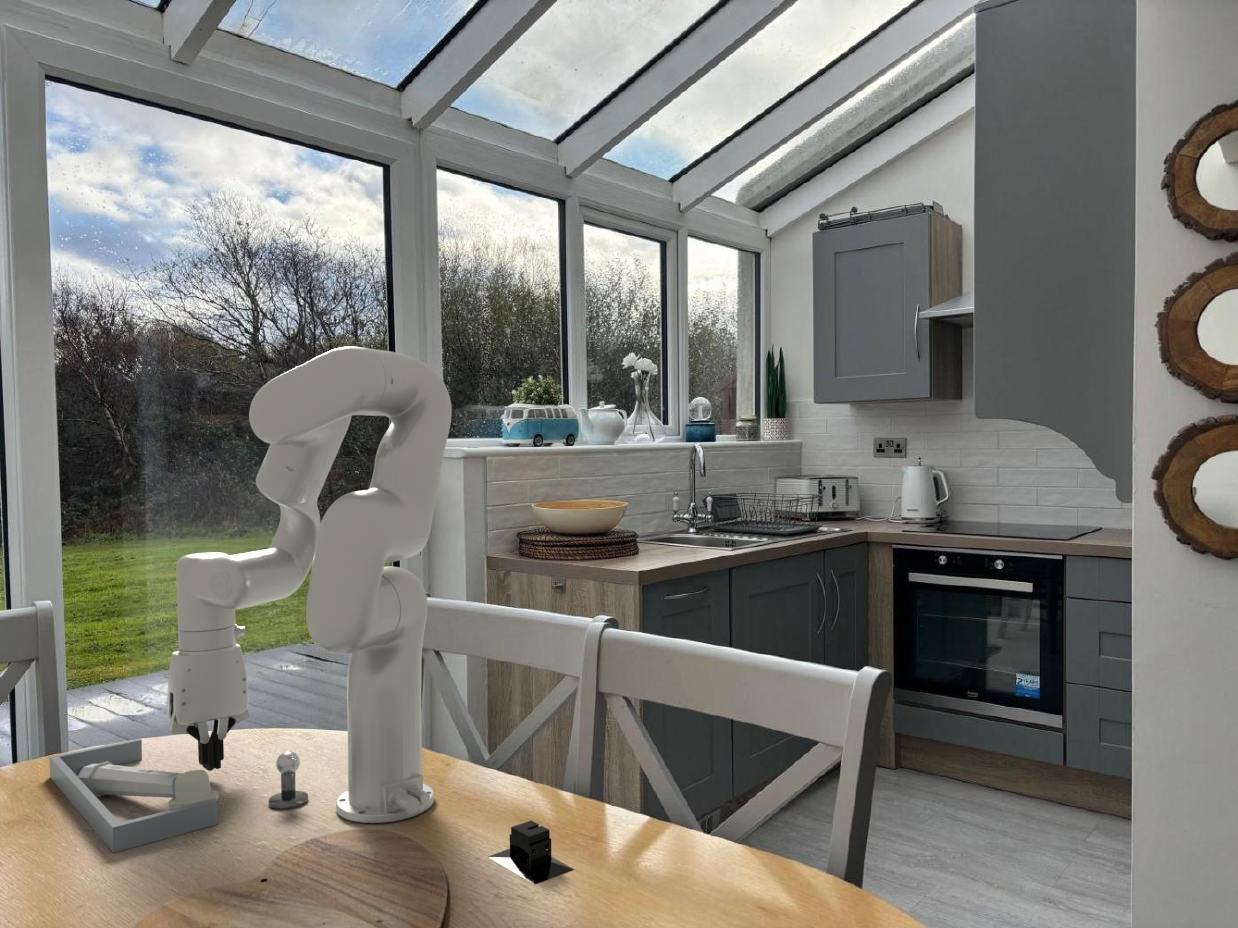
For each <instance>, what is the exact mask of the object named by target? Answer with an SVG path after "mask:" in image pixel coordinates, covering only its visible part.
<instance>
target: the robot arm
mask: <svg viewBox="0 0 1238 928" xmlns="http://www.w3.org/2000/svg"><path fill="white" fill-rule="evenodd" d="M452 413H453V412H452V401H451V396H450V394H449V390H448V389H447V386H446V384H445V382H444V381H443V379H442V378H441V376H440V375H439V373H437V371H436V370H434V369H433V368H432V367H431V366H430V365H428V364H427V363H425V362H424V361H422V360H420V359H418V358H415V357H414V356H411V355H408V354H404V353H399V352H394V351H389V350H381V349H375V348H368V347H361V346H354V345H353V346H342V347H337V348H334V349H331V350H329V351H327V352H324V353H321V354H320V355H317V356H315V357H314V358H311V359H310V360H307V361H306V362H304V363H302V364H300V365H298V366H295V367H294V368H291V369H288V370H287V371H285V372H283V373H281V374H279V375H278V376H275V377H274V378H272V379H270V380H268V381H267V382H266V383H265V384H263V385H262V386H261V388H260V389H258V391H257V392H256V393H255V395H254V397H253V398H252V400H251V403H250V406H249V413H248V418H249V419H248V420H249V421H248V422H249V425H250V427H251V429H252V431H253V433H254V435H255V436H256V437H257V438H258V440H259V439H260V440H261V441H263V442H264V443H266V444H270V445H269V447H268V449H267V452H266V454H265V457H264V459H263V461H262V462H261V465H260V468H259V470H258V472H257V475H256V477H255V478H256V479H255V485H256V487H257V490H259V492H260V493H261V494H262V495H263V496H264V497H266V498H267V499H269V500H270V501H272V502H273V503H274V504H277V505H279V509H280V519H279V523H278V526H277V529H276V532H275V535H274V537H273V539H272V541H271V544H270V545H269V547H268V548H266V549H265V548H264V549H259V550H253V551H248V552H243V553H236V554H231V555H230V554H228V553H225V552H218V551H214V552H213V551H212V552H211V551H209V552H196V553H190V554H185V555H183V556H180V558H179V559H178V560H177V562H176V567H175V574H176V576H175V577H176V579H175V580H176V581H175V582H176V605H177V607H176V609H177V611H176V612H177V637H178V639H177V641H178V650H176V651H173V652H172V653H171V658H170V664H169V671H168V678H167V679H168V681H167V682H168V683H167V695H166V696H167V699H166V700H167V701H166V702H167V703H166V709H167V716H168V718H169V719H170V723H169V728H168V731H169V732H170V733H171V734H173V735H189V736H191V737H192V738H194V739H195V740H196V741H197V749H198V750H197V753H198V754H197V756H198V759H197V760H198V762H199V765H200V766H201V767H202V768H203V769H205V770H207V771H208V772H211V771H213V770H215V769H216V770H218V769H221V767H222V761H224V759H225V756H224V755H225V754H224V753H225V751H224V749H225V748H224V740H225V739H226V738H227V734H228V733H229V732H230V730H231V729H232V728H233V727H234V726H235V724H239V723H241V722H243V721H245V720H247V719H249V717H250V712H249V703H250V698H249V697H250V695H249V683H248V673H247V669H246V664H245V663H246V662H245V658H244V653H243V650H242V647H241V645H240V644H239V643H238V639H239V638H240V637H243V636H246V633H247V632H246V631H247V630H246V627H245V626H238V625H237V624H236V610H241V609H246V608H250V607H255V606H259V605H261V604H265V603H266V604H267V603H269V602H274V601H278V600H282V599H285V598H286V599H287V598H288V597H290V596H291V595H293V594H294V593H295V592H296V591H297V590H298V589H299V588H300V587H301V585H302V584H303V582H304V581H305V580H306V577H307V576H308V573H309V571H310V570H311V572H310V578H309V583H308V590H307V596H306V604H305V619H306V620H305V622H306V627H307V630H308V632H309V635H310V637H311V638H312V640H313V642H314V643H315V644H316V645H317V646H318V647H319V648H320V649H322V650H323V651H325V652H327V653H331V654H333V655H334V654H335V655H348V654H350V657H349V660H348V661H349V662H348V665H347V666H348V668H347V676H346V677H347V679H346V683H347V686H346V687H347V688H346V689H347V690H346V693H347V694H346V696H347V697H346V698H347V699H346V700H347V701H346V703H347V705H346V708H347V714H346V716H347V781H348V782H347V784H348V786H347V790H345V791H344V792H343V793H341V794H340V795H339V797H337V799H336V801H335V810H336V813H337V814H338V815H339V816H340V817H341V818H343V819H345V820H347V821H351V822H356V823H363V824H364V823H365V824H382V823H383V824H384V823H391V822H399V821H402V820H407V819H409V818H413V817H415V816H418V815H421V814H423V813H424V812H426V811H427V810H428V809H429V808H430V807H432V806H433V804H434V802H435V801H434V800H435V792H434V789H433V788H432V787H431V786H429V785H428V784H426V783H424V776H423V755H422V754H423V753H422V752H423V750H422V748H423V747H422V746H423V745H422V742H423V741H422V733H423V731H422V657H423V655H422V653H423V644H424V643H423V641H424V635H425V629H426V623H427V616H428V596H427V592H426V590H425V587H424V585H423V583H422V581H421V580H420V579H419V578H418V576H416V574H414V573H413V572H411V571H410V570H407V569H406V568H403V567H399V566H392V565H391V566H388V565H387V566H385V564H389V563H393V562H394V563H395V562H398V561H403V560H407V559H408V558H412V557H414V556H417V555H418V554H419V553H421V552H422V551H423V549H424V548H425V547H426V545H427V543H428V542H429V540H430V539H429V538H430V536H431V535H430V534H431V529H432V524H433V519H434V513H435V507H436V504H437V503H436V501H437V497H438V496H437V495H438V492H439V487H440V479H441V472H442V466H443V465H442V464H443V460H444V455H445V450H446V446H447V441H448V438H449V433H450V427H451V422H452ZM352 416H370V417H387V418H388V419H389V420H390V424H389V427H388V429H387V430H386V432H385V433H384V435H383V437H382V438H381V440H380V443H379V445H378V448H377V451H376V454H375V458H374V465H373V467H374V468H373V473H372V476H371V481H370V485H369V487H368V489H363V490H357V491H351V492H348V493H346V494H343V495H342V496H340V497H338V498H337V499H336V500H334V501H333V503H331V504H330V506H329V507H328V509H327V510H326V511H325V513H324V515H323V517H322V519H321V516H320V510H319V507H318V499H319V496H320V494H321V491H322V490H323V487H324V485H325V482H326V480H327V477H328V475H329V472H330V471H331V468H332V466H333V465H334V464H333V463H334V461H335V459H336V457H337V455H338V452H339V450H340V447H341V446H342V443H343V441H344V439H345V437H346V434H347V432H348V429H349V426H350V424H351V422H352V420H351V419H352ZM211 721H212V725H211V733H210V734H209V728H208V724H207V722H211Z"/></svg>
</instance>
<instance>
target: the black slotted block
mask: <svg viewBox="0 0 1238 928" xmlns="http://www.w3.org/2000/svg"><path fill="white" fill-rule="evenodd" d="M550 833H551V832H550V829H548V828H546V827H545V826H543V825H541V826H540V824H539V823H537V822H536V821H533V820H528V821H526V822H525V821H524V822H522V823H519V824H517V825H514V826H511V827H510V834H509V848H508V849H505V850H502V851H500V852H499V851H498V852H497V853H494V854H491V855H488V856H487V858H489V859H490V860H493V861H494V862H495V863H498V864H499V865H501V866H502V867H504V868H506V869H508V870H509V871H511V872H513V873H514V874H516V875H518V876H520V877H521V878H523V879H524V880H527V882H530V883H532V884H534V885H538V884H541V883H543V882H546V881H549V880H551V879H554V878H557V877H559V876H562V875H565V874H567V873H570V872H573V871H575V869H574V868H573V867H571V866H569V865H567V864H566V863H564V862H562V861H560V860H558V859H556V858H554V857H553V856H552V838H551V837H550Z"/></svg>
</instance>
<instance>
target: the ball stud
mask: <svg viewBox="0 0 1238 928" xmlns="http://www.w3.org/2000/svg"><path fill="white" fill-rule="evenodd" d="M300 765H301V761H300V757H299V755H298V754H297V753H296V752H294V751H290V750H289V751H285V752H282V753H281V754H280V755H279V756H278V757H277V759H276V762H275V766H276V769H277V771H278V772H279V773H280V786H281V789H280V790H281V791H280V792H279V793H276V794H274V795H272V796H270V797H269V798H268V807H269V808H270V809H274V810H292V809H296V808H300V807H301V806H304V805H306V804H307V803H308V801H309V794H308V792H305V791H301V790H296V771H297V770H298V769H299V767H300Z"/></svg>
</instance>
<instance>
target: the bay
mask: <svg viewBox="0 0 1238 928" xmlns="http://www.w3.org/2000/svg"><path fill="white" fill-rule="evenodd" d="M142 743H143V740H142V739H141V738H136V739H131V740H125V741H121V742H117V743H112V744H107V745H106V744H105V745H101V746H96V747H91V748H86V749H81V750H76V751H72V752H71V751H70V752H67V753H66V752H65V753H62V754H61V753H60V754H56V755H52V756H49V778H50V779H51V780H52V782H53V783H54V784H55V785H56V786H57V787H58V788H59V790H60V791H61V792H62V794H63V795H64V796H65V797H66V798H67V799H68V801H69V802H70V803H71V804H72V806H74V808H75V809H76V810H77V812H78V813H79V815H81V817H83V818H84V819H85V821H86V822H87V824H89V825H90V827H91V828H92V830H94V832H95V833H96V834H97V836H98V837H100V839H101V840H102V842H103V843H104V844H105V845H106V846H107V847H108V849H109V850H110V851H111V852H112V853H113V854H114V853H118V852H122V851H125V850H128V849H133V848H135V847H136V848H137V847H140V846H143V845H147V844H150V843H151V844H152V843H155V842H158V841H162V840H166V839H169V838H173V837H177V836H181V835H184V834H188V833H191V832H196V831H198V830H203V829H206V828H209V827H212V826H217V825H219V801H218V799H217V800H216V799H211V800H207V801H203V802H200V803H196V804H192V805H188V806H184V807H180V808H176V809H168V810H163V811H161V812H158V813H153V814H149V815H144V816H141V817H136V818H133V819H130V820H125V821H122V822H120V821H119V820H118V819H117V818H116V817H115V815H113V814H112V812H111V811H110V810H109V809H108V808H107V807H106V806H105V805H104V804H103V803H102V802H101V801H100V799H99V797H96V796H95V795H94V794H93V793H92V792H91V791H90V790H89V789H88V788H87V787H86V785H85V784H84V783H83V782H82V781H81V780H80V779H79V778H78V777H77V776H76V774H77V772H78V771H79V769H80V768H81V767H83V766H86V765H89V764H100V763H104V762H107V761H109V762H110V763H112V764H113V765H118V766H120V765H124V764H128V763H132V762H137V761H142V760H143V747H142V746H143V745H142Z"/></svg>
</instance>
